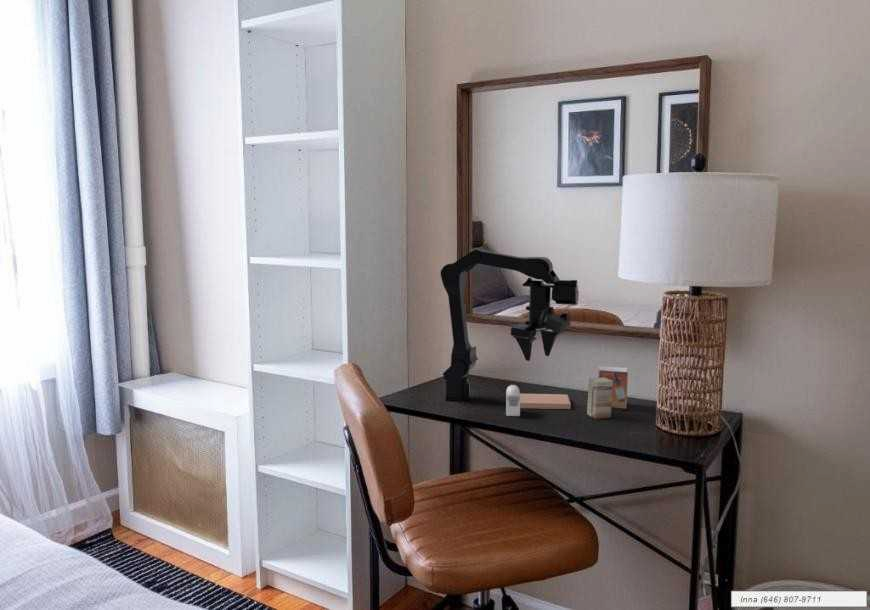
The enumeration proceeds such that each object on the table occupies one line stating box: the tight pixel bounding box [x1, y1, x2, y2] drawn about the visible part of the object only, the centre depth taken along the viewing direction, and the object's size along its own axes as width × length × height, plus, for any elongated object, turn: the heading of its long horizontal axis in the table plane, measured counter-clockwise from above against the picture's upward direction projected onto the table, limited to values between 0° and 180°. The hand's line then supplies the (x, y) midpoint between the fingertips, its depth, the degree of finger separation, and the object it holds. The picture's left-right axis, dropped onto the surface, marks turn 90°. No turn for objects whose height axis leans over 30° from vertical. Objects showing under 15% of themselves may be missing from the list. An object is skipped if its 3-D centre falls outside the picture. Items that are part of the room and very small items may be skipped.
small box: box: [597, 366, 629, 409], centre depth 202 cm, size 8×6×10 cm
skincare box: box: [586, 377, 613, 420], centre depth 192 cm, size 5×4×10 cm
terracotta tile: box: [520, 393, 572, 410], centre depth 204 cm, size 16×10×2 cm, turn 85°
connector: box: [505, 384, 521, 417], centre depth 194 cm, size 4×6×7 cm, turn 175°
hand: (537, 358), depth 201 cm, fingers open, 9 cm apart
